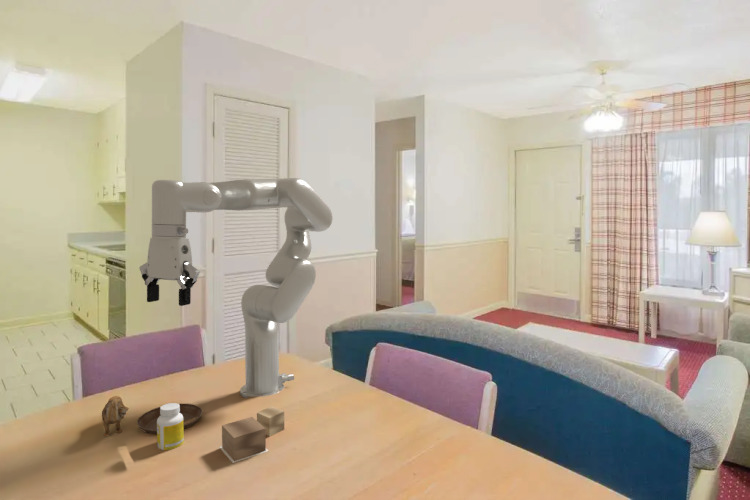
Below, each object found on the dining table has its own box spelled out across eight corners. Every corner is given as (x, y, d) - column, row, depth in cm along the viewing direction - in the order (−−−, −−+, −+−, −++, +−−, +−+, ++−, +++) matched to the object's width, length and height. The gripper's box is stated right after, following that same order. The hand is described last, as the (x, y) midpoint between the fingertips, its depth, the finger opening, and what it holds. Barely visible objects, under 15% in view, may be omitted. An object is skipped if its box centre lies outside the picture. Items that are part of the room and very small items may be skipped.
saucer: (122, 434, 109) (122, 423, 109) (170, 409, 123) (169, 399, 123) (171, 445, 104) (171, 434, 104) (215, 418, 118) (215, 408, 117)
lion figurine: (130, 437, 107) (128, 400, 106) (103, 443, 104) (102, 405, 103) (123, 413, 119) (122, 380, 118) (99, 418, 116) (98, 384, 115)
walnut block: (252, 437, 105) (252, 416, 104) (265, 450, 99) (265, 428, 99) (222, 447, 101) (221, 425, 100) (234, 461, 95) (233, 438, 95)
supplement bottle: (189, 445, 104) (188, 403, 103) (171, 457, 99) (170, 413, 98) (170, 441, 105) (169, 399, 105) (151, 452, 100) (150, 409, 100)
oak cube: (271, 424, 112) (271, 406, 112) (284, 429, 109) (284, 411, 109) (257, 430, 108) (256, 412, 108) (269, 436, 106) (269, 417, 105)
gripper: (209, 233, 110) (208, 304, 111) (153, 230, 116) (153, 297, 117) (186, 233, 103) (185, 309, 104) (128, 231, 109) (128, 302, 110)
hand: (168, 303), depth 111 cm, fingers open, 9 cm apart
